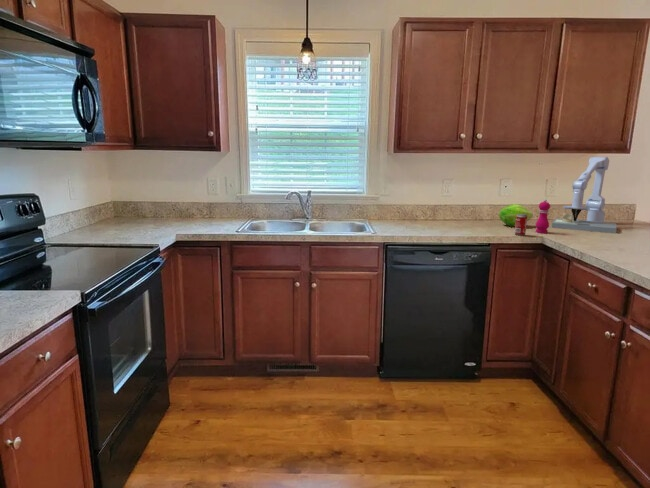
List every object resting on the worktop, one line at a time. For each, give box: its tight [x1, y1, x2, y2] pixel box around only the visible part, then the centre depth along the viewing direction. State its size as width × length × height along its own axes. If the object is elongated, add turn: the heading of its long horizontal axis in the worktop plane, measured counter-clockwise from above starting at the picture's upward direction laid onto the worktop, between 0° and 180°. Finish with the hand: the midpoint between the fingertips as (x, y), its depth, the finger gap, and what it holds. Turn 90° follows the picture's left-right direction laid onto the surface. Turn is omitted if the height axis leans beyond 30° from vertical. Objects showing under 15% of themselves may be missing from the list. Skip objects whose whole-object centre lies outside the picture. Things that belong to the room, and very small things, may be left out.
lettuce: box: [498, 203, 534, 227], centre depth 275 cm, size 15×20×14 cm
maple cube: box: [562, 212, 573, 223], centre depth 274 cm, size 5×5×5 cm
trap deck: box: [551, 217, 618, 234], centre depth 271 cm, size 34×22×3 cm, turn 56°
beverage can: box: [514, 214, 528, 237], centre depth 246 cm, size 6×6×12 cm
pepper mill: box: [535, 199, 551, 234], centre depth 253 cm, size 7×7×20 cm
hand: (574, 220), depth 273 cm, fingers closed
